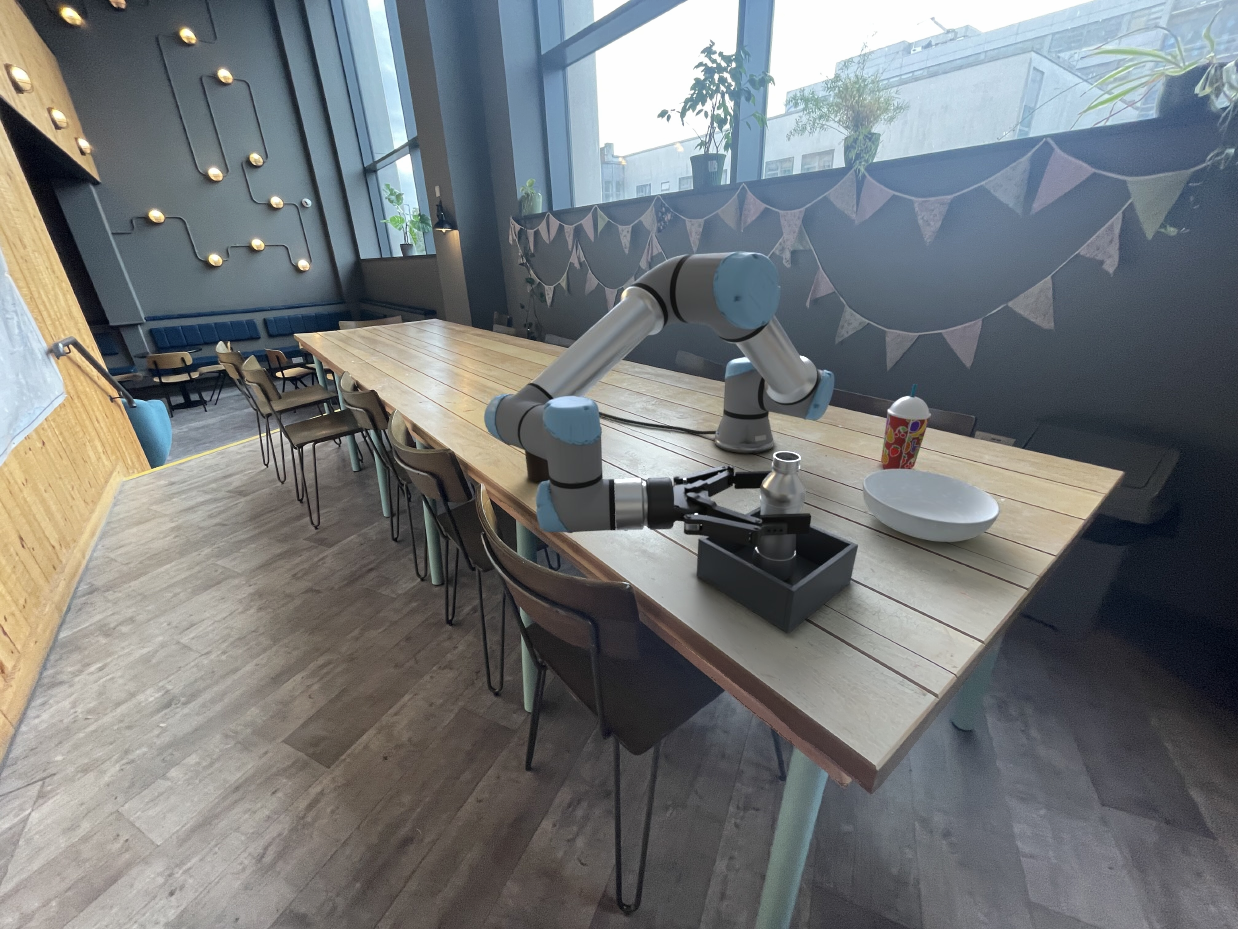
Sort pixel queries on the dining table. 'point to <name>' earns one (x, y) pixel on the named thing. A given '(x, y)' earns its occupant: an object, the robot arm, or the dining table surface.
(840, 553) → the bin
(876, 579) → the dining table surface
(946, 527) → the serving bowl
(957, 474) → the dining table surface
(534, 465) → the vinegar
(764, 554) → the silver metal bottle
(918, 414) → the smoothie
